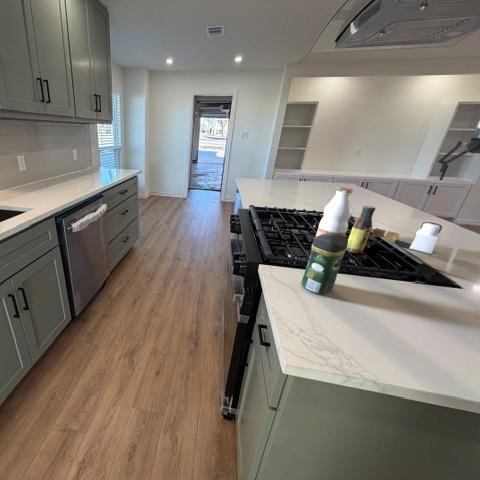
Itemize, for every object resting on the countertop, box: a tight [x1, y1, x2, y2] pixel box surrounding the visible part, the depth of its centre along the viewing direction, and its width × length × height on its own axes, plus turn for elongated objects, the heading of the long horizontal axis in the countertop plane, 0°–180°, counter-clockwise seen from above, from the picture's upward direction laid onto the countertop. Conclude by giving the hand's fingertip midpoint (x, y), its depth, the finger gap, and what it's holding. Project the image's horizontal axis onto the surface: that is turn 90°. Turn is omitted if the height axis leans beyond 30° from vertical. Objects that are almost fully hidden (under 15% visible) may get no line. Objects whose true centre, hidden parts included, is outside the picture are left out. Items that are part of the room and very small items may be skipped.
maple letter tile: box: [384, 230, 400, 243], centre depth 120 cm, size 4×4×4 cm
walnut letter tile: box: [370, 227, 387, 239], centre depth 123 cm, size 4×4×4 cm
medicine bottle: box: [410, 221, 443, 254], centre depth 110 cm, size 7×7×12 cm
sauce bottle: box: [346, 205, 376, 254], centre depth 106 cm, size 7×6×20 cm
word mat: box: [367, 235, 432, 256], centre depth 118 cm, size 22×10×1 cm, turn 39°
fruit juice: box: [315, 186, 354, 237], centre depth 99 cm, size 9×9×28 cm
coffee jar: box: [300, 232, 348, 295], centre depth 79 cm, size 10×8×19 cm
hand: (462, 182), depth 110 cm, fingers open, 13 cm apart
